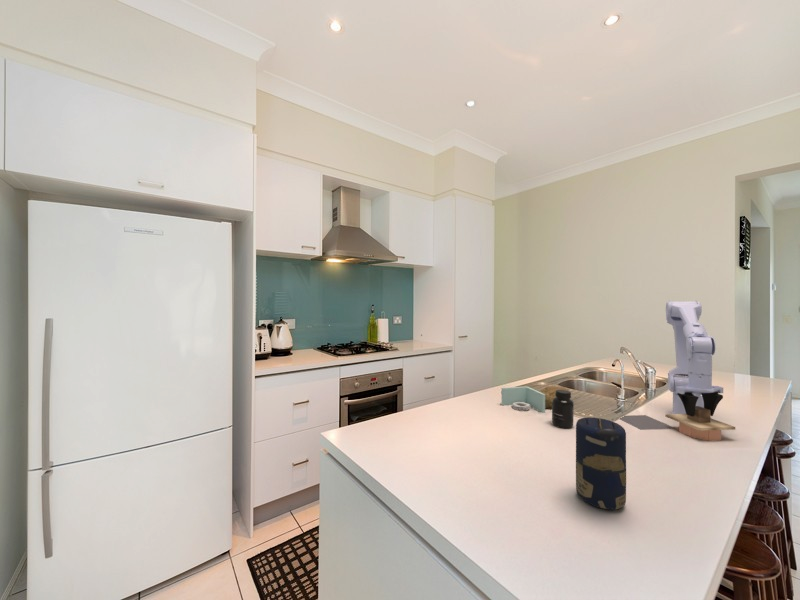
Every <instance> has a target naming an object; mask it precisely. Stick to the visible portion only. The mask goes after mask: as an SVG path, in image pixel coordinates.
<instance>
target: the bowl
mask: <svg viewBox="0 0 800 600" xmlns="http://www.w3.org/2000/svg"><path fill="white" fill-rule="evenodd" d="M678 429H679V433H681V434H683V435H685V436H687V437H691V438H694V439H698V440H703V441H711V442H712V441H715V442H716V441H722V430H701V431H699V430H697V429H694V428H692V427H690V426H687V425H685V424H682V423H680V422H678Z"/></svg>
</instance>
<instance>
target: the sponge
mask: <svg viewBox="0 0 800 600" xmlns="http://www.w3.org/2000/svg"><path fill="white" fill-rule="evenodd" d="M556 390H566V391H570V390H569V389H568V388H566V387H564V386H555V385H554V386H547V387H545V388H543V389H541V391H540V392H541V393H543V394H545V409H552V400H553V399H554V398H555V397H556V396H555V394H556Z"/></svg>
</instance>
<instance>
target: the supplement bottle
mask: <svg viewBox="0 0 800 600" xmlns="http://www.w3.org/2000/svg"><path fill="white" fill-rule="evenodd" d="M555 396H556V397H555V398H554V399H553V400H552V407H551V424H552V425H553V426H555V427H557V428H560V429H564V430H565V429H566V430H567V429H568V430H569V429H572V428H573V427H574V416H575V415H574V413H575V403H574V401H573V400H572V399H571V398H572V393H571V391H570V390H569V391H566V390H556V394H555Z"/></svg>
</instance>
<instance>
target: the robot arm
mask: <svg viewBox="0 0 800 600" xmlns="http://www.w3.org/2000/svg"><path fill="white" fill-rule="evenodd" d="M702 311H703V310H702V304H701V301H698V300H695V301H690V300H688V301H685V300H683V301H682V300H681V301H678V300H676V301H675V300H674V301H673V300H672V301H671V300H668V301H667V302H666V304H665V319H666V323H667V324H669V325H671V327H672V328H673V333H674V349H675V350H674V351H675V361H676V362H675V363H676V367H673V369H671V370H669V371H668V373H667V389H668V391H670V392H671V393H672V412H666V414H687V415H689V416H694V415H695V406H700V407H703V408H706V409H709V410H711V417H713V416H714V414H715V411H716V410H717V407H718V405H719V403H720V402H721V401H722V400H723V398H724V395H723V394H724V387H723V386H718V385H713V356H714V355H715V353H716V341H715V338H714V337H713V336H711V335H709V334H708V332H707V330H706V328H705V325H704V324H702V323H700V322H699V320H700V318H701V315H702Z"/></svg>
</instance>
